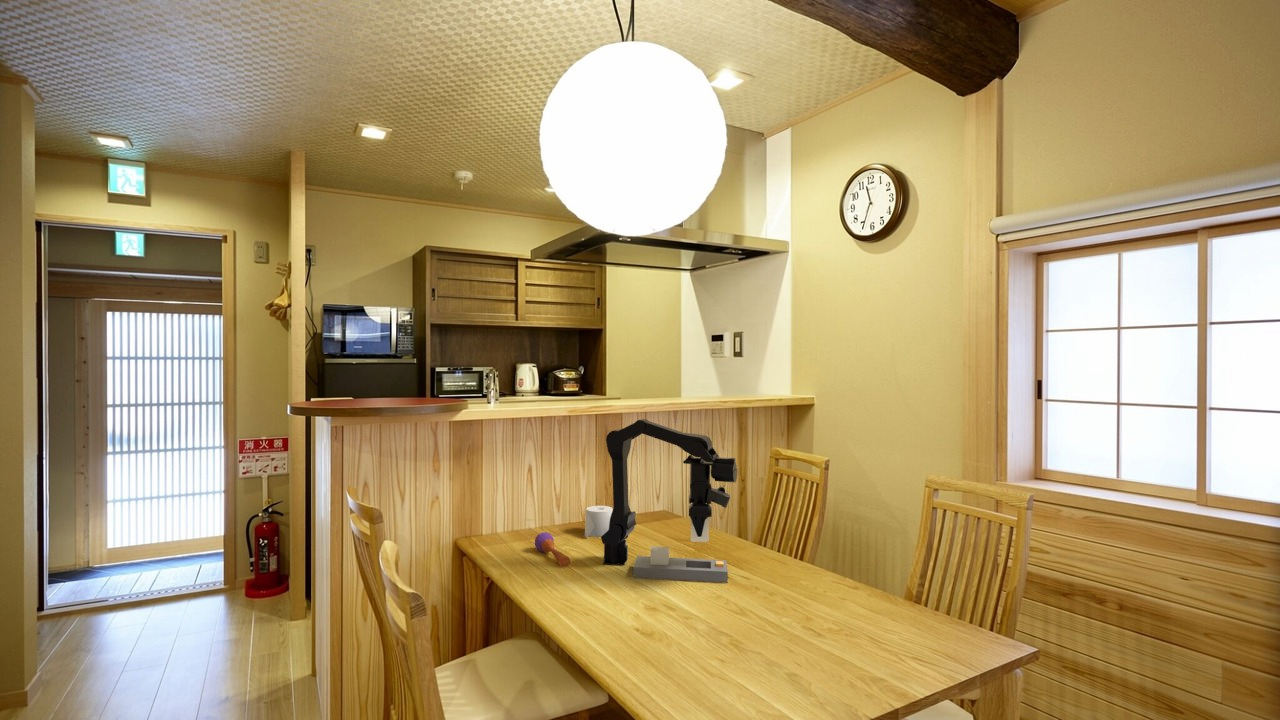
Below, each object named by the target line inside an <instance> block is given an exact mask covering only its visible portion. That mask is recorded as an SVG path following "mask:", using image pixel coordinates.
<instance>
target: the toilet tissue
mask: <svg viewBox="0 0 1280 720" xmlns="http://www.w3.org/2000/svg"><path fill="white" fill-rule="evenodd" d="M612 511H613V507H611V506H608V505H592V506H588V507H586V509H585V519H584V520H585V523H584V538H586V539H588V537H594V538H601V536H603V535H604V534H605V533H606V532H607V531H608V530H609V522H610V517H611V514H612Z"/></svg>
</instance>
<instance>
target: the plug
mask: <svg viewBox="0 0 1280 720" xmlns="http://www.w3.org/2000/svg"><path fill="white" fill-rule="evenodd" d="M709 535H710V517H708V518H707V519H706V520H705V523H704V527H703V532H702V536H701V537H698V536H697V534H696V531H695V528H694V526H693V523H692V520H691V519H690V542H693V543H694V542H695V543H709V540H710V538H709V537H710V536H709Z"/></svg>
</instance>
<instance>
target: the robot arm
mask: <svg viewBox="0 0 1280 720" xmlns="http://www.w3.org/2000/svg"><path fill="white" fill-rule="evenodd" d="M641 435H646V436H648V437H651V438H654V439H656V440H659V441H662V442H666V443H668V444H672V445H674V446H677V447H678V448H680V449H681V450H683V451H684V452H686V453H688V456H687V457H686V459H684V460H683V461H682V463H683V464H685V465H689V466H690V467H689V470H690V471H689V496H688V504H689V506H688V516H689V518H690V521H691V520H692V523H693V526H694V528H695V531H696V534H697V536H698V537H701V536H702V532H703V527H704V523H705V520H706V519H707V518H708V517H709V518H712V515H713V514H712V513H713V511H712V506H711V505H712V503H714V504H717V505H719V506H721V507H722V508H727V507H728V504H729V502H730V499H731V496H730V494H729V493H728V492H726V488H725V487H723V486H720V485H719V487H717V488H714V487H712V483H711V478H712V479H713V480H714V481H715V482H725V483H734V484H735V483H736V482H737V479H738V467H737V462H736V458H735V457H720V455H719V454H718V452H717V451H716V450H715V449H714V447H713V442H712V440H711V438H710V437H709V436H708V435H704V434H699V433H688V432H683V431H679V430H677V429H673V428H670V427H667V426H665V425H661V424H659V423H656V422H652V421H650V420H648V419H646V418H641V419H637V420H636V421H635V422H633V423H631V424H630V425H627V426H626V427H623V428H619V429H615V430H612V431H610V432H609V433H608V434H607V435H606V437H605V442H606V448H607V452H608V455H609V457H610V459H611V466H612V467H611V469H612V470H611V471H612V472H611V473H612V499H613V500H612V503H613V504H612V505H613V507H612V508H613V511H612V514H611V517H610V522H609V530H608V531H607V532H606V533H605V534H604V535H603V536H601V537H600V539H601V543H602V544H603V545H604V546H603V547H604V548H603V561H602V565H614V566H615V565H616V566H625V565H626V563H627V561H628V559H629V545H627V539H628V538H629V535H630V534H631V533H632V532H633V531H634V529H635V526H636V525H637V522H636V513H637V512H636V511H635V510H633V511H631V508H630V504H629V477H628V476H629V475H628V457H629V454H630V452H631V448H632V440H634V439H636V438H638V437H640V436H641Z"/></svg>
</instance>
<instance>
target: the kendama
mask: <svg viewBox="0 0 1280 720" xmlns="http://www.w3.org/2000/svg"><path fill="white" fill-rule="evenodd" d="M534 546H535V548H536V549H537V550H538V551H539V552H541V553H551V554H552V555H553V557H554V558H555V560H556V561H557V563H558V564H559V566H560V567H561V568H563V567H568V566H569V565H570V562H571V558H570V557H569V556H567V554H564V553H563V552H561V551H559V550H557V549H556V548H555V541H554V537H553V535H552V534H550V533H549V532H547V531H545V532H541V533H540V532H539V533H538V534H537V535H536V537H535V539H534Z"/></svg>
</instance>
